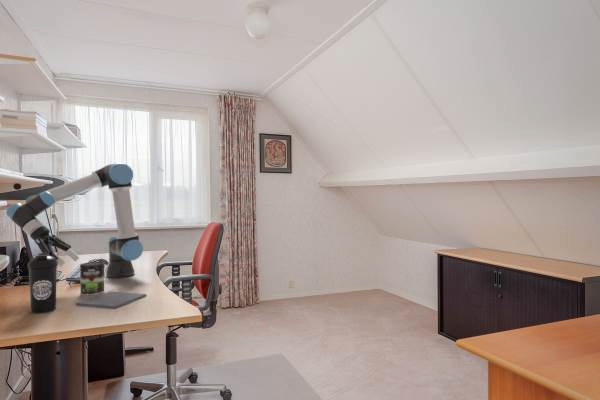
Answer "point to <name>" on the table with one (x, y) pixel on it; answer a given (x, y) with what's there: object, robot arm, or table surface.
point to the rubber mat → (111, 299)
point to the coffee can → (92, 278)
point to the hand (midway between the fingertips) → (70, 261)
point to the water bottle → (42, 283)
